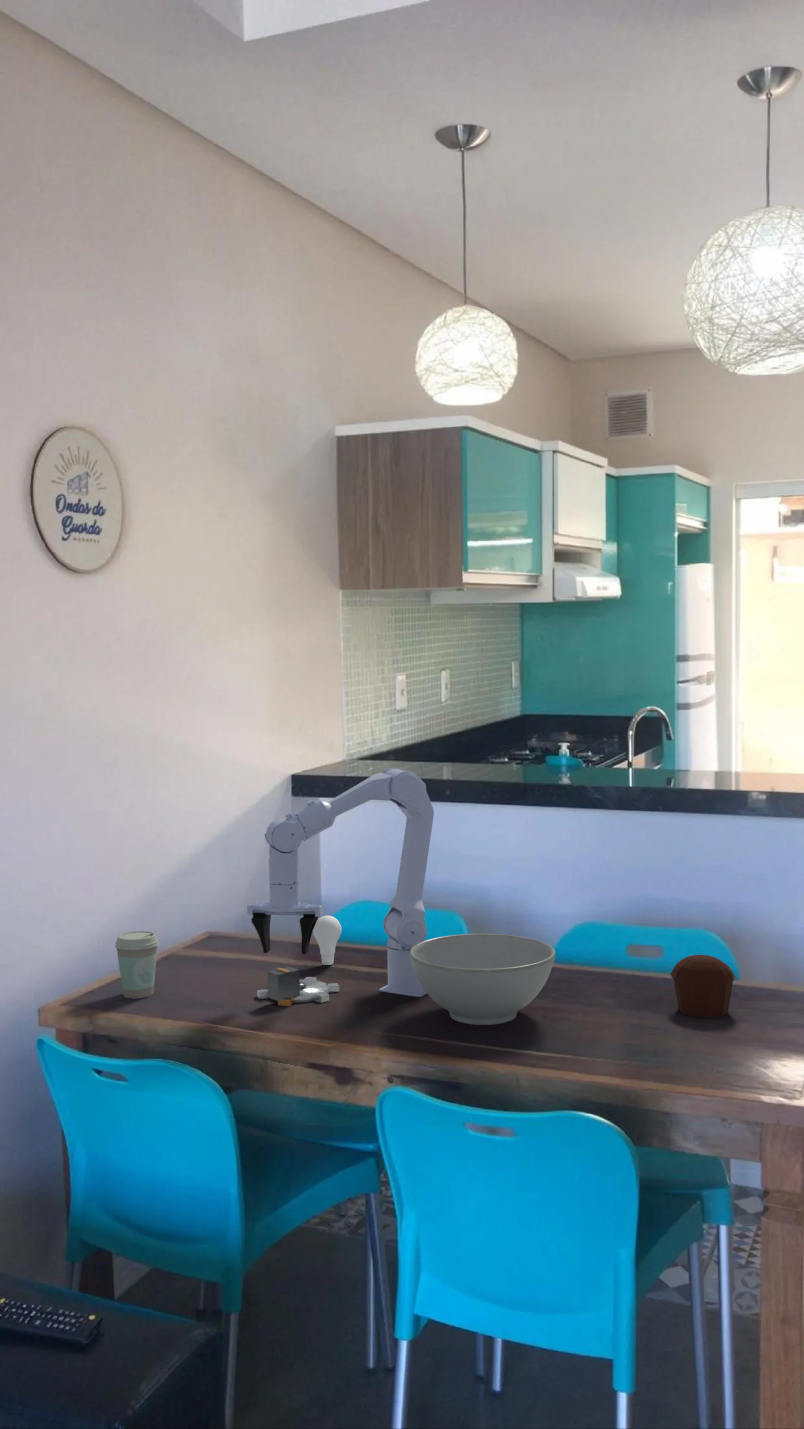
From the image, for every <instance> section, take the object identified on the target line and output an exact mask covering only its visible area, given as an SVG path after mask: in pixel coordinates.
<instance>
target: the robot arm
mask: <svg viewBox="0 0 804 1429" xmlns="http://www.w3.org/2000/svg"><path fill="white" fill-rule="evenodd" d="M371 800H380V801H390V802H392V803H393V804H395V805H396V806H397V807H398V808H399V810H400V811H401V812H402V813H403V814H404V815H405V817H406V822H405V828H404V835H403V844H402V849H401V857H400V863H399V871H398V877H397V884H396V886H397V887H396V890H395V891H396V892H395V895H394V896H393V898H392V900H391V901H390V905H389V910H388V912H387V913H386V915H384V918H383V924H382V925H383V930H384V933H385V934H386V935H387V936H388V940H387V941H386V942H387V943H386V948H387V949H386V951H387V952H386V953H387V954H386V955H387V958H386V960H387V985H384V986H383V987H381V988H379V989H378V990H379V992H383V993H384V992H385V993H390V994H397V995H404V996H410V997H417V998H418V997H419V998H420V997H424V996H425V995H428V994H427V992H426V991H425V990H424V988H423V987H422V985H421V983H420V982H419V980H418V978H417V976H416V973H415V971H414V968H413V966H412V963H411V959H410V950H411V948H412V947H413V946H415V945H416V944H418V943H421V942H423V941H426V939H427V938H426V937H427V935H428V927H427V924H426V920H425V919H426V918H425V917H426V916H425V915H426V909H425V906H424V903H423V892H424V886H425V880H426V879H425V878H426V872H427V865H428V858H429V857H428V856H429V851H430V846H431V845H430V844H431V836H432V830H433V822H434V815H435V812H434V807H433V804H432V803H431V799H430V797H429V795H428V792H427V785H426V783H425V782H424V781H423V780H422V779H421V778H420V777H419V775H417V774H416V773H415V772H412V771H408V770H403V769H401V768H398V767H389V768H386V769H385V770H384V771H382V772H377V773H374V774H373V775H371V776H369V777H368V778H366V779H364V780H363V781H361V782H360V783H358V784H356V785H354V786H353V787H350V788H349V789H348V790H345V791H344V792H342V793H341V794H339V795H337V796H335V797H333V798H331V799H330V800H329V801H324V800H322V799H318V800H316V801H315V800H313V799H310V800H309V801H307V802H306V805H305V807H301V808H300V809H298V810H297V811H295V812H293V813H291V812H288V813H286V814H285V816H284V817H285V819H284V818H279V819H275V820H274V821H273V820H272V822H271V823H270V824H269V826H267V828H266V831H265V833H264V839H265V841H266V843H267V845H269V846H268V850H269V852H268V854H269V855H268V856H269V857H268V877H269V878H268V880H269V881H268V882H269V902H257V903H256V902H254V903H253V902H252V903H251V902H250V903H249V904H247V906H246V907H247V908H246V909H247V910H246V911H247V913H246V914H247V916H252V918H250V920H251V923H252V926H253V927H254V929H255V931H256V932H257V934H258V937H259V939H260V944H261V946H262V952H263V953H264V954H267V953H269V952H270V951H271V932H270V930H271V929H270V928H271V918H272V916H298V917H299V916H303V917H301V918H299V926H300V933H301V954H302V955H307V953H309V948H310V943H311V942H310V941H311V939H312V934H313V929H314V927H315V924H316V922H317V920H318V919H319V918H320V917H322V916H324V915H323V914H324V913H323V911H324V910H323V907H324V906H323V904H314V903H313V904H312V903H304V902H300V864H299V863H300V862H299V848H300V846H301V845H302V843H303V842H304V841H307V840H308V839H310V838H313V837H314V836H316V835H318V834H320V833H321V832H323V831H326V830H327V829H329V828H331V827H332V826H333V825H334V823H335V819H336V818H337V817H338V816H340V815H342V814H344V813H346V812H348V811H350V810H353V809H354V808H356V807H359V806H361V805H363V804H365V803H366V802H369V801H371Z"/></svg>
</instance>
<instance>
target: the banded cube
mask: <svg viewBox="0 0 804 1429" xmlns="http://www.w3.org/2000/svg"><path fill="white" fill-rule="evenodd" d="M272 970H273V971H271V970H269V971H267V989H268V997H269V998H268V999H270V998H271V1000H272V999H274V1000H273V1001H275V1000H277V1001H276V1002H278V1001H281V1000H285V999H289V998H293V997H297V996H300V981H299V980H300V969H298V968H294V967H291V966H287V967H277V968H275V969H272Z"/></svg>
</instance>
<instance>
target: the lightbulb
mask: <svg viewBox="0 0 804 1429" xmlns="http://www.w3.org/2000/svg"><path fill="white" fill-rule="evenodd" d="M312 934H313V937H314V939H315V940H316V943H317V944H318V947H319V951H320V952H319V954H320V955H321V964H322V965H324V966H325V965H330V966H331V965H333V964H334V961H335V959H334V958H335V953H336V946H337V942H339V939H340V936H341V934H342V926H341V923H340V922H339V920H338V919H337V918H336V917H335V916H332V915H322V916H321V917H318V920H317V922H316V924H315V927H314V929H313V932H312Z"/></svg>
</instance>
